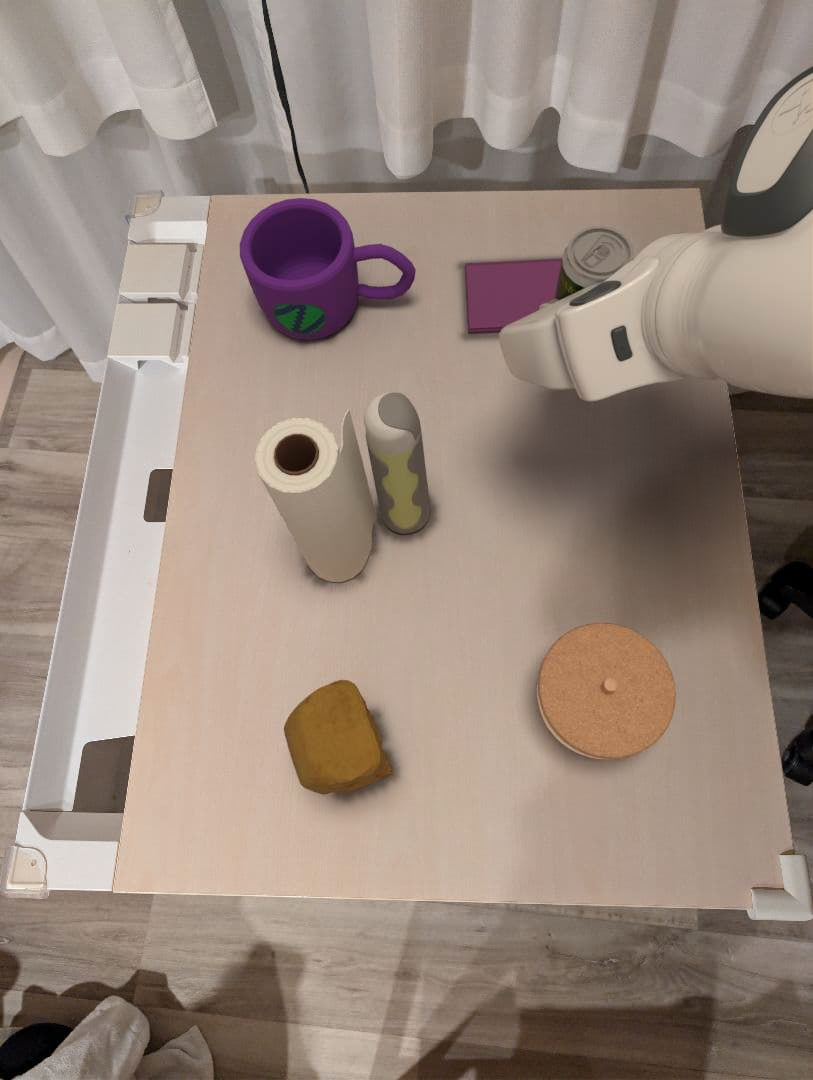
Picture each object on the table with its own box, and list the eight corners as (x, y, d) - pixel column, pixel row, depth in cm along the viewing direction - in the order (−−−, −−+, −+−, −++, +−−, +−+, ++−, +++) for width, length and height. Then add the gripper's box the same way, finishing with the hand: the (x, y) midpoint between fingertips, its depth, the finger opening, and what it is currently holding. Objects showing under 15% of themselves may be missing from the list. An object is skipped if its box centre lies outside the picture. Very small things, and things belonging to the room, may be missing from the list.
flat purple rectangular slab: (592, 259, 85) (593, 254, 84) (600, 327, 82) (601, 323, 81) (465, 265, 86) (465, 261, 85) (468, 333, 83) (468, 329, 82)
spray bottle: (379, 493, 77) (354, 384, 58) (427, 487, 76) (418, 376, 58) (383, 538, 75) (359, 441, 56) (433, 532, 75) (425, 433, 56)
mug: (255, 348, 83) (230, 287, 74) (267, 263, 87) (244, 195, 78) (415, 349, 82) (411, 287, 73) (420, 263, 86) (416, 194, 77)
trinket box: (618, 790, 65) (643, 784, 57) (507, 723, 68) (515, 707, 59) (673, 683, 68) (705, 661, 60) (565, 622, 71) (581, 592, 62)
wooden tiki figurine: (401, 780, 67) (386, 767, 53) (329, 809, 66) (296, 803, 52) (374, 704, 69) (353, 673, 55) (305, 731, 69) (266, 706, 55)
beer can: (578, 383, 67) (604, 293, 56) (533, 347, 69) (548, 253, 58) (619, 345, 68) (652, 250, 57) (573, 310, 70) (596, 211, 59)
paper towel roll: (310, 588, 73) (257, 498, 53) (304, 530, 76) (250, 422, 56) (385, 576, 73) (359, 481, 53) (376, 518, 76) (348, 406, 56)
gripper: (811, 192, 50) (682, 205, 63) (541, 323, 48) (462, 309, 60) (824, 285, 53) (698, 280, 66) (569, 414, 51) (488, 383, 63)
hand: (583, 295), depth 63 cm, fingers closed on beer can, 5 cm apart
